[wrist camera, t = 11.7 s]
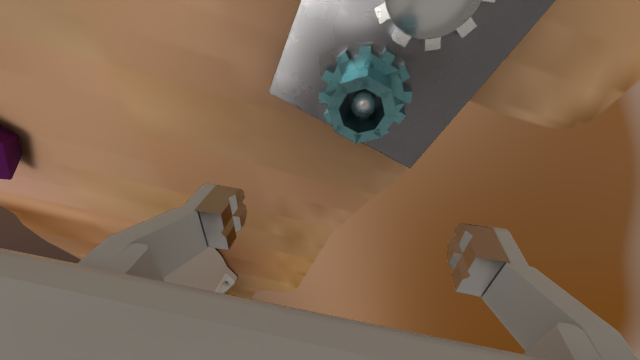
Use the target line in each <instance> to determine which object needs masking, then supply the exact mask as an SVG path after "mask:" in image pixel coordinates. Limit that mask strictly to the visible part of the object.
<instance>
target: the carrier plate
mask: <svg viewBox="0 0 640 360" xmlns="http://www.w3.org/2000/svg"><path fill="white" fill-rule="evenodd" d="M554 1H555V0H301V3H300V6H299V9H298V11H297V14H296V17H295V20H294V23H293V25H292V28H291V31H290V34H289V37H288V40H287V42H286V45H285V48H284V51H283V54H282V56H281V59H280V62H279V65H278V68H277V71H276V73H275V76H274V79H273V82H272V85H271V87H270V90H269V93H271V94H273V95H275V96H277V97H278V98H280V99H282V100H284V101H286V102H288V103H290V104H291V105H293V106H295V107H297V108H299V109H301V110H303V111H304V112H306V113H308V114H310V115H312V116H314V117H316V118H317V119H319V120H321V121H323V122H325V123H327V124H329V125H330V126H332V127H333V124H332V122H330V123H328V122H327V120H326V118H325V117H324V113H325V111H326V109H327V107H328V104H327V103H319V92H320V90H321V89H322V88H327V86H328V83H326V82H325V81H323V80H321V79H322V77H323V75H324V73H325V71H326V69H327V68H328V66H330V67H332V68H333V69H335V70H336V68H337V66H338V62H337V61H336V57H337V56H338V55H339V54H341V53H342V52H344V51H345V50H346V49H347V50H348V52H349V54H350V56H351V57H353V56H356V55H359V47H360V45H361V44H372V49H371V50H372V51H374V52H375V53H377V54H379V55H380V56H381V54H382V52H383V51H384V49H385V47H386V48H387V49H389V50H391V51H392V52H394V53H395V55H396V57H395V58H394V60H393V62H392V63H394V64H395V65H397V66H401V65H402V64H405V66H406V68H407V71H408V73H409V75H410V78H409V79H407V80H405V81H403V82H402V86H403V87H411V89H412V100H411V103H405V104H404V105H403V107H402V108H403V109H405V114H406V116H405V117H404V119H403V120H402V121H401V123H400V124H399V123H397V122H395V121H393V123H392V124H391V125H390V127H389V133H387V134H385V135H383V136H382V138H378V139H374V140H369V141H365V142H362V143H364V144H366V145H367V146H369V147H371V148H373V149H375V150H377V151H379V152H380V153H382V154H384V155H386V156H388V157H390V158H392V159H393V160H395V161H397V162H399V163H401V164H403V165H404V166H406V167H408V168H411V167H412V166H413V164H414V163H415V162H416V161H417V160H418V159H419V158H420V156H421V155H422V154H423V153H424V152H425V151H426V149H427V148H428V147H429V146H430V145H431V144H432V142H433V141H434V140H435V139H436V138H437V137H438V135H439V134H440V133H441V132H442V131H443V130H444V129H445V127H446V126H447V125H448V124H449V123H450V122H451V120H452V119H453V118H454V117H455V116H456V115H457V113H458V112H459V111H460V110H461V109H462V108H463V107H464V105H465V104H466V103H467V102H468V101H469V100H470V99H471V97H472V96H473V95H474V94H475V93H476V92H477V90H478V89H479V88H480V87H481V86H482V85H483V83H484V82H485V81H486V80H487V79H488V78H489V77H490V75H491V74H492V73H493V72H494V71H495V70H496V68H497V67H498V66H499V65H500V64H501V63H502V62H503V60H504V59H505V58H506V57H507V56H508V55H509V53H510V52H511V51H512V50H513V49H514V48H515V46H516V45H517V44H518V43H519V42H520V41H521V40H522V38H523V37H524V36H525V35H526V34H527V33H528V31H529V30H530V29H531V28H532V27H533V26H534V24H535V23H536V22H537V21H538V20H539V19H540V18H541V16H542V15H543V14H544V13H545V12H546V11H547V9H548V8H549V7H550V6H551V5H552V4H553V2H554ZM347 97H348V101H349V104H350V105H352V111H353V113H354V114H355V115H357V116H359V117H367V116H369V115H371V114H372V113H373V111H374V109H375V108H376V107H377V105H378V104H379V102H380V101H381V97H379V96H377V95H376V94H374V93H372V92H370V91H369V90H367V89H362V90H358V91H355V92H351V93H348V94H347Z"/></svg>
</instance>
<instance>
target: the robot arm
mask: <svg viewBox="0 0 640 360" xmlns="http://www.w3.org/2000/svg"><path fill="white" fill-rule="evenodd" d="M244 198H245V196H244V191H243V190H242V189H237V188H232V187H226V186H220V185H213V184H208V183H206V184H203V185H202V186H201V187H200V188H199V189H198V190H197V191H196V192H195V193H194V194H193V196H192V197H191V198H190V199H189V200H188V201H187V202H186V203H185V204H184V205H183V206H182V207H181V208H175V209H173V210H170V211H168V212H166V213H163V214H161V215H158V216H156V217H154V218H151V219H149V220H146V221H144V222H142V223H139V224H137V225H134V226H132V227H130V228H127V229H125V230H122V231H120V232H118V233H115V234H113V235H110V236H108V237H107V238H106V239H105V240H104V241H102V242H101V243H100V244H99V245H98V246H97V247H96V248H94V249H93V250H92V251H91V252H90V253H89V254H88V255H86V256H85V257H84V258H83V259H82V260H81V261H80V262H79V263H77V264H75V263H70V262H66V261H61V260H56V259H51V258H46V257H41V256H36V255H31V254H26V253H21V252H16V251H11V250H6V249H2V248H0V360H638V358H637V357H636V355H635V354H634V353H633V351H632V350H631V348H630V347H629V346H628V344H627V343H626V342H625V340H624V339H623V338H622V336H621V334H620V333H619V332H618V331H617V330H615V329H614V328H613V327H611V326H610V325H609V324H608V323H606V322H605V321H604V320H602V319H601V318H600V317H598V316H597V315H596V314H594V313H593V312H592V311H590V310H589V309H588V308H587V307H585V306H584V305H583V304H581V303H580V302H579V301H577V300H576V299H575V298H573V297H572V296H571V295H570V294H568V293H567V292H566V291H564V290H563V289H562V288H560V287H559V286H558V285H556V284H555V283H554V282H553V281H551V280H550V279H548V278H547V277H546V276H544V275H543V274H542V273H541V272H539V271H538V270H537V269H535V268H534V267H529V266H528V264H527V262H526V260H525V259H524V257H523V255H522V254H521V252H520V250H519V248H518V246H517V245H516V243H515V241H514V239H513V238H512V236H511V234H510V232H509V231H508V230H506V229H503V228H495V227H486V226H479V225H472V224H465V223H459V224H458V225H457V226H456V229H455V233H456V236H455V237H453V238H451V239H450V241H449V244H448V246H447V260H448V264H449V265H450V266H451V267H452V268H453V269H454V271H453V273H452V274H451V276H452V280H453V283H454V287H455V290H456V292H461V293H466V294H470V295H475V296H480V297H482V299H483V300H484V301H485V303H486V304H487V305H488V307H489V308H490V309H491V310H492V311H493V312H494V314H495V315H496V316H497V317H498V319H499V320H500V321H501V322H502V323H503V325H504V326H505V327H506V328H507V329H508V331H509V332H510V333H511V334H512V335H513V337H514V338H515V339H516V340H517V341H518V342H519V344H520V345H521V346H522V347H523V349H524V350H525V351H526V352H525V353H524V354H518V353H513V352H508V351H503V350H498V349H493V348H488V347H483V346H479V345H474V344H469V343H464V342H459V341H454V340H449V339H444V338H439V337H434V336H429V335H424V334H419V333H414V332H409V331H404V330H400V329H395V328H390V327H385V326H380V325H374V324H370V323H365V322H360V321H355V320H350V319H345V318H340V317H336V316H330V315H325V314H321V313H316V312H310V311H306V310H301V309H296V308H292V307H287V306H281V305H277V304H272V303H267V302H262V301H257V300H252V299H247V298H243V297H238V296H233V295H228V294H224V293H225V292H226V291H227V290H228V289H229V288H230V287H231V286H232V285H233V284H234V283H235V282H236V280H237V276H236V275H235V274H234V273H233V272H232V271H231V270H230V269H229V268H228V267H227V265H226V263H225V261H224V259H223V258H222V256H221V255H220V254H219V253H218V251H217V250H216V249H215V248H219V249H225V250H229V249H230V247H231V245H232V244H233V242H234V240H235V239H236V232H237V231H239V230H240V229H242V227H243V225H244V223H245V220H246V214H247V210H246V206H245V205H244V203H243V202H242V201H243V200H244Z"/></svg>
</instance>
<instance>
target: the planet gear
mask: <svg viewBox="0 0 640 360" xmlns="http://www.w3.org/2000/svg"><path fill="white" fill-rule="evenodd" d="M371 49H372V44H361V45H360V47H359V55H356V56H353V57H351V56H350V54H349V52H348V50H347V49H346V50H345V51H344V52H342V53H341V54H339V55H338V56H337V57H336V61H337V62H338V66H337V68H336V70H335V69H333V68H332V67H330V66H328V68H327V69H326V71H325V73H324V75H323V77H322V79H321V80H323V81H325V82H326V83H328V86H327V88H322V89H321V90H320V92H319V103H327V104H328V107H327V109H326V111H325V113H324V117H325V118H326V120H327V122H328V123H330V122H332V124H333V127H334V130H335V132H337V133H339V134H340V135H342V136H344V137H346V138H348V139H350V140H351V141H353V142H355V143H360V142H365V141H369V140H374V139H378V138H382V136H383V135H385V134H387V133H389V127H390V125H391V124H392V123H393V121H395V122H397V123H399V124H400V123H401V121H402V120H403V119H404V117H405V116H406V114H405V109H403V108H402V107H403V105H404V104H405V103H411V100H412V89H411V87H403V86H402V82H403V81H405V80H407V79H409V78H410V75H409V73H408V71H407V68H406V66H405V64H402V65H401V66H397V65H395V64H394V63H392V62H393V60H394V58H395V57H396V55H395V53H394V52H392V51H391V50H389V49H387V48H386V47H385V49H384V51H383V52H382V54H381V56H380V55H379V54H377V53H375V52H374V51H372V50H371ZM362 89H367V90H369V91H370V92H372V93H374V94H376V95H377V96H379V97H381V101H380V102H379V104H378V105H377V107H376V108H375V109H374V111H373V113H372V114H371V115H369V116H367V117H359V116H357V115H355V114H354V113H353V111H352V105H350V104H349V101H348V97H347V94H348V93H351V92H355V91H358V90H362Z"/></svg>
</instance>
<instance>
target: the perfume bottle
mask: <svg viewBox="0 0 640 360" xmlns="http://www.w3.org/2000/svg"><path fill="white" fill-rule="evenodd" d="M21 156H22V152H21V146H20V140H19V136H18V135H17V134H15V133H13V132H11V131H9V130H7V129H5V128H4V127H2V126H0V179H8V180H10V179H12V177H13V175H14V172H15V170H16V168H17V165H18V163H19V161H20V158H21Z"/></svg>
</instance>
